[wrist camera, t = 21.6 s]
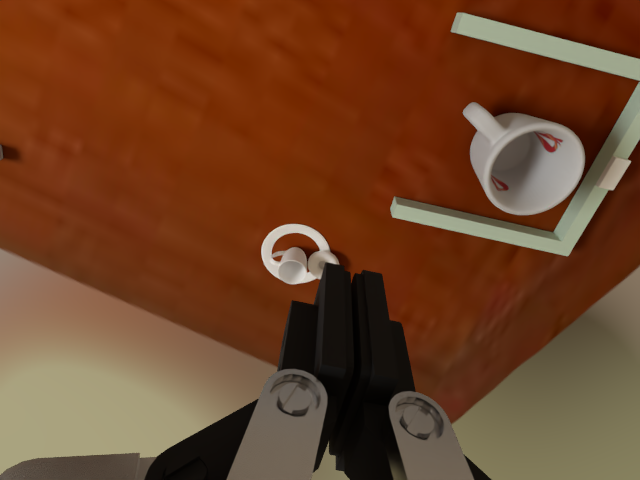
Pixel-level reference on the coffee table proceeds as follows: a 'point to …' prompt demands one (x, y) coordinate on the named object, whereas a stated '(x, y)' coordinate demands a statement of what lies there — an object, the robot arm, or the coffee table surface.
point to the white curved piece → (296, 256)
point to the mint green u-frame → (600, 178)
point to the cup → (524, 160)
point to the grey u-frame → (1, 153)
